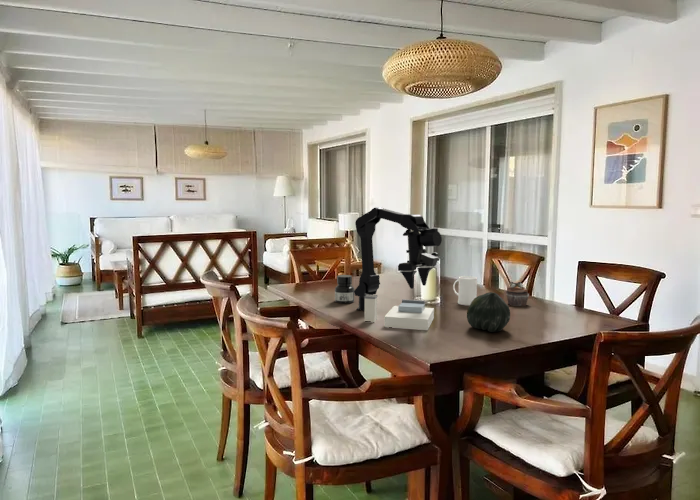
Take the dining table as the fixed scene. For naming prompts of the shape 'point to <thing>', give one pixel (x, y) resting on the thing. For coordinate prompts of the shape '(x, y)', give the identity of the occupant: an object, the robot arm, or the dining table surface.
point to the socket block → (409, 319)
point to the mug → (466, 289)
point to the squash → (488, 312)
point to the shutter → (412, 306)
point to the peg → (370, 307)
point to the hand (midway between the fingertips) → (418, 287)
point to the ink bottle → (344, 289)
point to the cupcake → (517, 294)
